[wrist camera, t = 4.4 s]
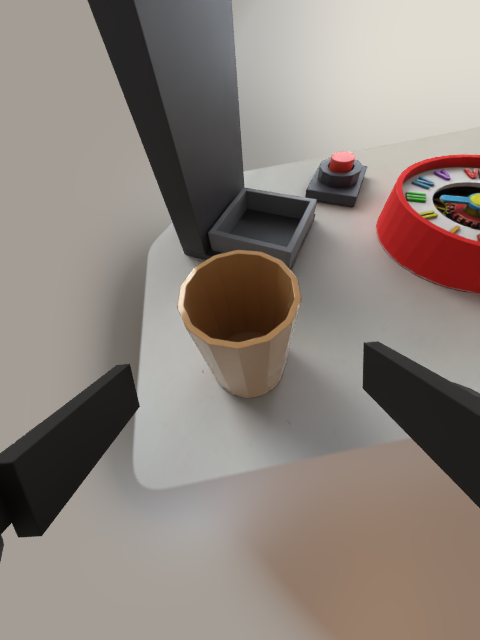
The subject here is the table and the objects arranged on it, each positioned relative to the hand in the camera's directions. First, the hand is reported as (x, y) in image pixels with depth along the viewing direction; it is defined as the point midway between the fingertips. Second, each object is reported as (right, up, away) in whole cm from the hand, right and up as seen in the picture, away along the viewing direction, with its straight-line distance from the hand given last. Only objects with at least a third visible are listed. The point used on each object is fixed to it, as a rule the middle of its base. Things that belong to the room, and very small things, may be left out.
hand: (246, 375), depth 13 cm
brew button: (+16, +28, +25) cm, 41 cm away
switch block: (+17, +27, +27) cm, 42 cm away
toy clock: (+30, +15, +19) cm, 38 cm away
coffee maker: (+1, +16, +22) cm, 28 cm away
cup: (+1, -1, +12) cm, 12 cm away
